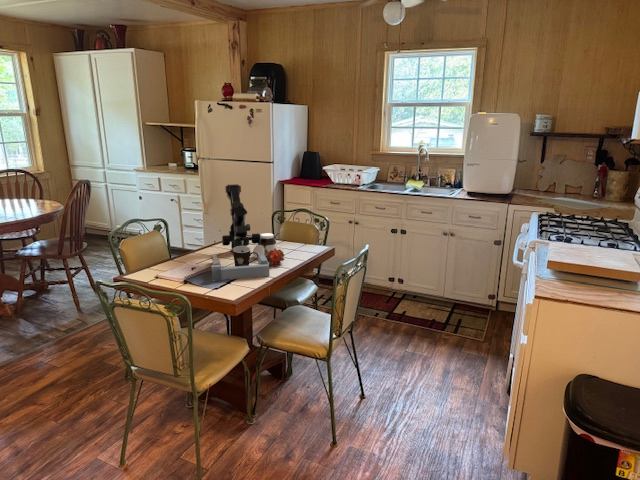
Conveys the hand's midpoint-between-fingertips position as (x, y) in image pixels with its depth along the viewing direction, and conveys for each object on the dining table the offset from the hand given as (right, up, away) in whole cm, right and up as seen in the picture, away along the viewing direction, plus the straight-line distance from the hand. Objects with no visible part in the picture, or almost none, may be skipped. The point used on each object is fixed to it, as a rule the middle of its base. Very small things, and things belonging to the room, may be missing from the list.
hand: (243, 254), depth 221 cm
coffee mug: (+1, -7, -1) cm, 7 cm away
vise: (0, -9, -8) cm, 12 cm away
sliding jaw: (-13, -7, -1) cm, 15 cm away
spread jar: (+8, -2, +20) cm, 22 cm away
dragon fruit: (+15, -6, +7) cm, 18 cm away
